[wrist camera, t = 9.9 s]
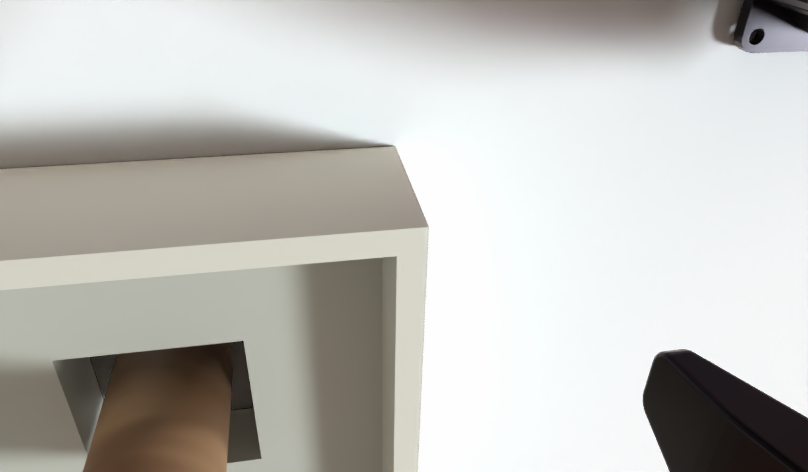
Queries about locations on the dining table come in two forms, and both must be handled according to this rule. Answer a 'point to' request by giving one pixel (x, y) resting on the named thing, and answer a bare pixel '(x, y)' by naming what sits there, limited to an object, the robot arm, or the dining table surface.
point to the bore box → (219, 300)
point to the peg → (165, 412)
